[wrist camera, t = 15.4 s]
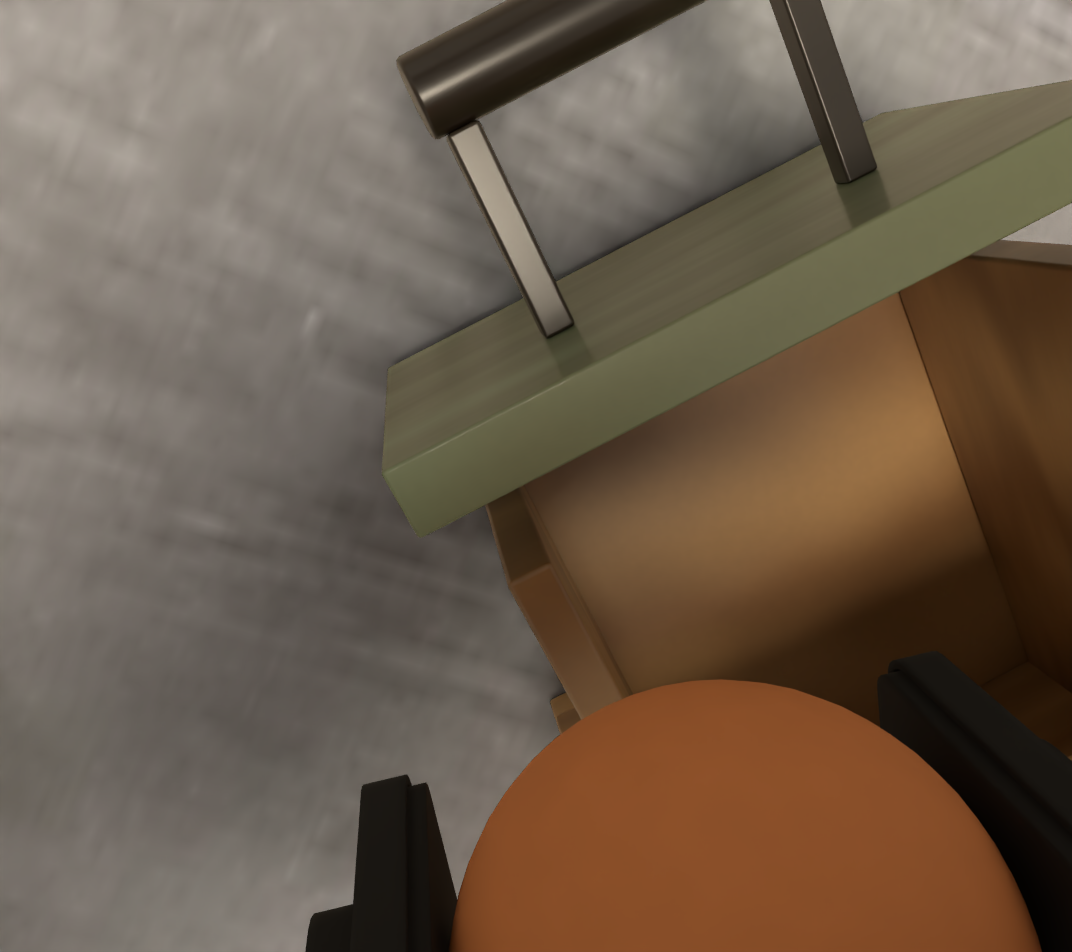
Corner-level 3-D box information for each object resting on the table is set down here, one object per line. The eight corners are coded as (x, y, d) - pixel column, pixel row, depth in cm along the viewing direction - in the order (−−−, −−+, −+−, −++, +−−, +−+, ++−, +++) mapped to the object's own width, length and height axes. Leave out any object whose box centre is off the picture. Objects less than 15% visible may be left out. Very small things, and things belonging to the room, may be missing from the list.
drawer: (270, 158, 21) (182, 132, 12) (805, -119, 21) (1090, -338, 12) (651, 847, 27) (766, 1141, 19) (1059, 638, 27) (1359, 838, 19)
